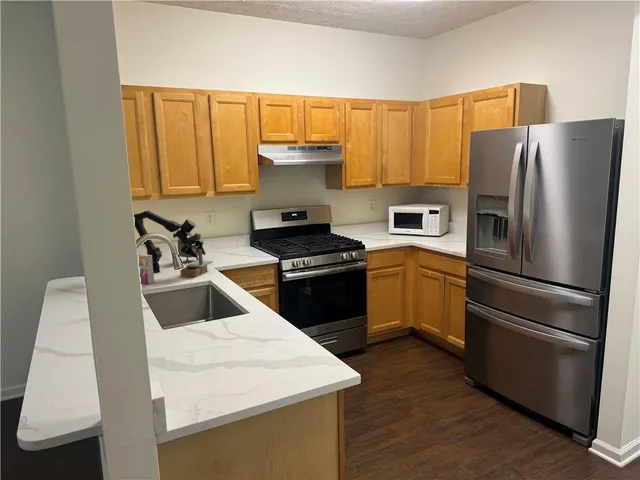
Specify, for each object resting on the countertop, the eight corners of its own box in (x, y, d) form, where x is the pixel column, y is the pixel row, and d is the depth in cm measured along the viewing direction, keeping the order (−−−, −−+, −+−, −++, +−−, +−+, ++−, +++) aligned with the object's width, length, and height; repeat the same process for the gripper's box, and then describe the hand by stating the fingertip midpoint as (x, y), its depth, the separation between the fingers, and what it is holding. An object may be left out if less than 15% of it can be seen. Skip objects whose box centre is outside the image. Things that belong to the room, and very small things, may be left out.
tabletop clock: (188, 263, 299) (185, 227, 295) (177, 263, 302) (175, 227, 298) (201, 259, 312) (199, 225, 308) (191, 258, 315) (188, 224, 311)
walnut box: (195, 277, 260) (194, 270, 259) (180, 276, 263) (180, 269, 262) (207, 272, 273) (207, 265, 272) (193, 271, 276) (192, 264, 275)
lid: (201, 267, 265) (200, 250, 264) (186, 266, 268) (185, 250, 267) (212, 262, 279) (212, 246, 277) (198, 261, 282) (197, 246, 280)
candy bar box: (133, 283, 250) (131, 255, 247) (140, 281, 254) (138, 253, 252) (148, 284, 245) (145, 256, 243) (154, 282, 250) (152, 254, 247)
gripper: (183, 231, 258) (201, 250, 257) (200, 227, 276) (216, 244, 275) (172, 243, 262) (190, 262, 260) (189, 238, 279) (206, 256, 278)
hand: (201, 256), depth 268 cm, fingers open, 9 cm apart
